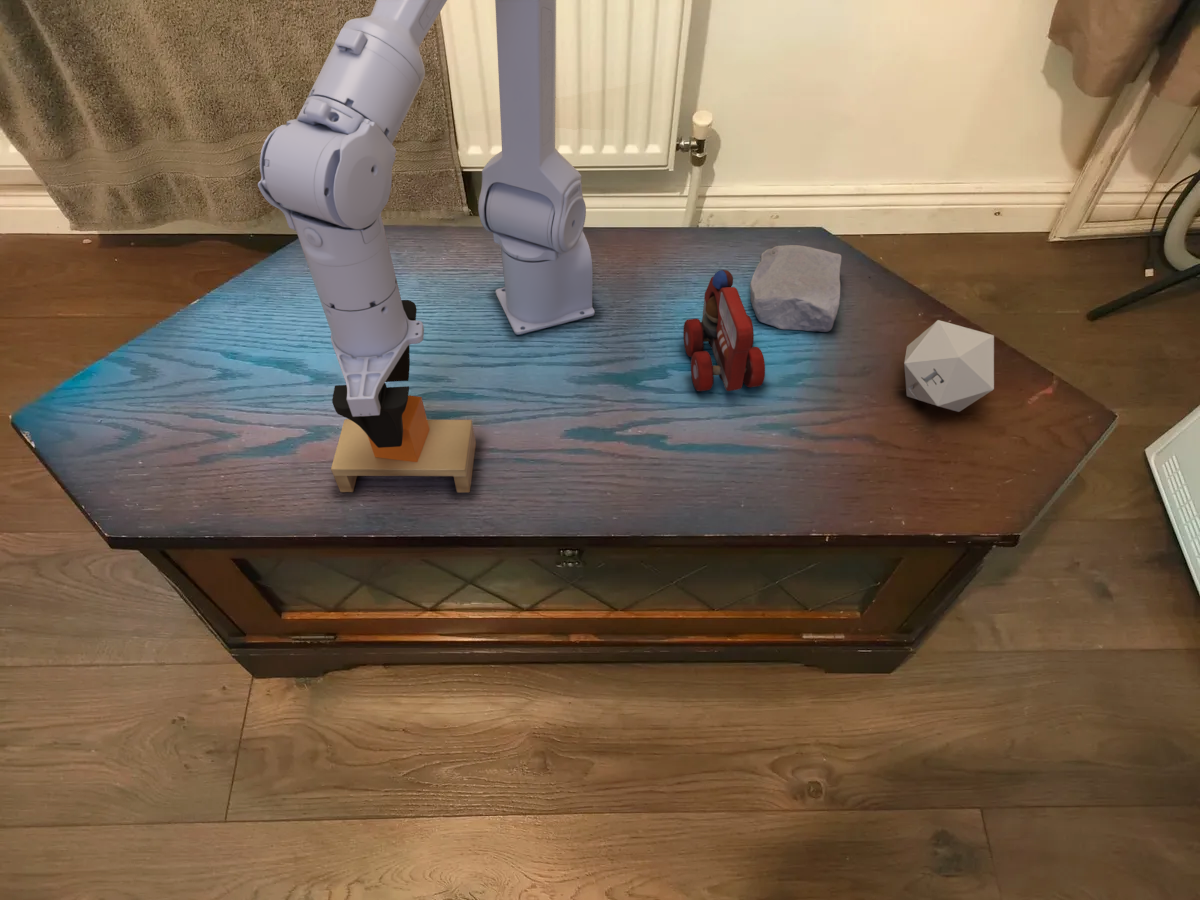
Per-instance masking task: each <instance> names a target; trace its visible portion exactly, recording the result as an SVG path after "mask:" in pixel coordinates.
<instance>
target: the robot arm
mask: <svg viewBox="0 0 1200 900" xmlns="http://www.w3.org/2000/svg"><path fill="white" fill-rule="evenodd" d="M447 1H448V0H375V3H374V5H373V7H372V11H371V13H370V15H368V16H363V17H357V18H352V19H349V20H347V21H346V22H344V24H343V26H342V28H341V29H340V31H339V33H338V35H337V37H336V39H335V41H334V44H333V46H332V48H331V50H330V51H329V53H328V56H327V57H326V60H325V61H324V63H323V65H322V68H321V69H320V72H319V73H318V75H317V78H316V79H315V81H314V83H313V85H312V88H311V90H310V91H309V93H308V95H307V97H306V98H305V101H304V103H303V105H302V108H301V110H300V111H299V113H298V115H297V117H296V118H294V119H290V120H287V121H286V122H285V123H286V124H281V125H279V126H277V127H276V128H274V129H273V130H272V131H271V132H270V133H269V134H268V135H267V136H266V139H265V140H264V142H263V145H262V147H261V151H260V155H259V171H260V176H261V178H260V180H259V181H258V182H257V187H258V190H259V192H260V193H261V195H262V197H263V198H264V199H265V201H267V203H268V204H269V205H271V206H273V207H274V208H277V209H278V210H280V211H281V212H282V214H283V215H284V218H285V220H286V223H287V225H288V229H291V230H293V231H295V232H296V235H297V237H298V240H299V243H300V247H301V249H302V252H303V256H304V259H305V261H306V264H307V267H308V269H309V270H308V271H309V272H310V275H311V278H312V281H313V284H314V287H315V290H316V293H317V296H318V299H319V302H320V304H321V307H322V311H323V314H324V316H325V320H326V322H327V325H328V328H329V331H330V341H331V345H332V348H333V351H334V354H335V357H336V359H337V363H338V365H339V367H340V370H341V373H342V376H343V378H344V382H345V384H338V385H334V388H333V393H332V399H331V403H332V405H333V408H334V410H335V413H336V414H337V415H339V416H341V417H343V418H345V419H349V420H351V421H353V422H354V423H356V424H357V425H358V426H360V427H361V428H362V430H363V431H364V432H365V433H366V434H367V435H368V436H369V438H370V439H371V440H372V441H373V443H374V444H375V445H376V446H377V447H378V448H383V447H400V446H401V445H402V439H403V422H402V414H403V412H404V411H405V408H406V405H407V401H408V395H409V391H410V386H408V385H407V386H406V385H405V386H389V387H387V383H392V382H408V381H409V377H410V371H411V368H410V367H411V366H410V365H411V359H410V358H411V356H410V353H411V352H410V345H418V344H420V343H422V342H423V340H424V337H425V336H424V333H425V328H424V323H423V321H421V320H417V312H418V309H417V305H416V304H415V302H414V301H412V300H408V299H402V295H401V294H400V288H399V283H398V280H397V279H398V278H397V275H396V272H395V267H394V262H393V259H392V258H393V257H392V255H391V251H390V246H389V243H388V238H387V233H386V229H385V225H384V221H383V218H382V212H383V210H384V209H385V207H386V206H387V204H388V203H389V199H390V195H391V190H392V183H393V166H394V164H395V161H396V159H397V157H396V154H397V149H396V148H395V146H394V145H393V144H394V142H395V139H396V138H397V135H398V134H399V131H400V129H401V127H402V125H403V123H404V121H405V119H406V117H407V116H408V112H409V111H410V109H411V107H412V104H413V102H414V100H415V98H416V96H417V94H418V93H419V90H420V88H421V86H422V83H423V82H424V79H425V77H426V69H425V64H424V62H423V58H422V55H421V51H420V46H421V45H422V43H423V42H424V39H425V38H426V36H427V35H428V33H429V31H430V30H431V28H432V27H433V25H434V23H435V22H436V20H437V18H438V17H439V15H440V13H441V11H442V10H443V8H444V6H446V5H445V4H447ZM494 3H495V26H496V27H495V29H496V47H497V48H496V49H497V70H498V91H499V114H500V137H501V139H500V140H501V151H500V152H497V153H496V154H495V155H494V156H492V157H491V158H490V159H489V160H488V161H487V162H486V164H485V165H484V167H483V168H482V170H481V189H480V193H479V197H478V204H477V205H478V206H477V208H478V209H477V210H478V217H479V220H480V224H481V225H482V228H483V229H484V230H485V231H487V232H490V233H492V236H493V243H495V244H498V245H499V246H500V255H501V264H502V274H503V282H504V287H500V288H496V289H495V296H496V298H497V299H498V302H499V304H500V306H501V309H502V310H503V312H504V314H505V316H506V318H507V320H508V323H509V324H510V326H511V329H512V331H513V332H514V334H515V335H523V334H527V333H532V332H535V331H540V330H543V329H546V328H552V327H555V326H558V325H562V324H566V323H570V322H571V323H572V322H575V321H579V320H582V319H586V318H590V317H594V316H595V314H596V313H595V308H594V307H593V269H594V268H593V267H594V266H593V259H592V253H591V247H590V245H589V241H588V239H587V237H586V235H585V233H584V231H583V230H584V227H585V222H586V217H587V207H586V202H585V200H584V194H583V183H582V174H581V173H580V172H579V170H577V168H575V167H574V166H573V165H572V164H571V162H570V161H568V160H567V159H566V158H565V157H564V156H563V154H561V153H560V151H558V149H557V148H556V122H557V121H556V114H557V113H556V111H557V109H556V107H557V105H556V103H557V99H556V98H557V93H556V92H557V89H556V88H557V0H494Z"/></svg>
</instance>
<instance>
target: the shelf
mask: <svg viewBox="0 0 1200 900" xmlns="http://www.w3.org/2000/svg"><path fill="white" fill-rule="evenodd" d="M427 421H428V425H429V432H428V435H427V438H426V440H425V443H424V446H423V448H422V451H421V454H420V456H419V459H418V462H410V461H402V460H394V459H385V458H377V457H375V456H374V453H373V450H372V447H371V444H370V441H369V438H368V435H367V434H366V433H365V432H364V431H363V430H362V428H361V427H360V426H358V425H357V424H356V423H354V422H353V421H351V420H349V419H348V418H345V419H344V420H343V424H342V427H341V431H340V434H339V438H338V442H337V446H336V448H335V453H334V457H333V460H332V463H331V467H330V470H331V473H332V475H333V477H334V480H335V482H336V485H337V487H338V490H339V492H340V493H354V490H355V486H356V482H357V478H358V477H365V476H366V477H453V480H454V485H455V490H456V493H470V492H471V486H472V478H473V470H474V462H475V454H476V446H477V443H476V442H477V441H476V436H475V435H476V434H475V430H474V423H473V420H472V419H427Z"/></svg>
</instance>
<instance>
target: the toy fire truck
mask: <svg viewBox="0 0 1200 900" xmlns="http://www.w3.org/2000/svg"><path fill="white" fill-rule="evenodd" d="M733 285H734V276H733V274H732V273H731V272H730V271H729V270H727V269H720V270H717V271H716V272H715V273H714V275H713V276H711V277H710V280H709V283H708V285H707V287H706V290H705V291H704V298H703V309H702V318H701V320H700V319H699V318H689V319H685V321H684V324H683V344H684V350H685V353H686V355H687V356H688V357H689V358H691V359H690V372H691V373H690V374H691V381H692V384H693V387H694V389H695V390H696V392H704V391H710V390H711V389H712V387H713V386H714V376H719V379H720V381H722V383H723V387H724V389H725V390H726V392H732V391H739V390H741V389H742V387H743V384H744V386H746V387H747V388H756V387H761V386H762V385H763V383H764V381H765V377H766V362H765V357H764V354H763V351H762V350H761V348H760V347H758V346H753V345H754V338H755V337H754V334H755V333H754V325H753V321H752V318H751V316H749V315H748V314H747V312H746V309H745V305H744V304H743V300H742V299H741V296H740V293H739V291H738V289H737V287H735V286H733ZM707 342H708V345H709V347H710V348H711V350H712V354H713V357H714V359H715V362H716V365H713V360H712V357H711V355H710V352H708V351H707V350H705V349H704V348H705V345H704V344H705V343H707Z"/></svg>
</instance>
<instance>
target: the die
mask: <svg viewBox="0 0 1200 900" xmlns="http://www.w3.org/2000/svg"><path fill="white" fill-rule="evenodd" d="M904 356H905V357H904V361H903V364H904V378H905V389H906V391H905V393H906V397H908V398H911V399H914V400H918V401H921V402H923V403H927V404H931V405H933V406H936V407H940V408H943V409H947V410H950V411H954V412H957V413H959V412H961V411H963V410H964V409H966V408H968V407H969V406H971V405H972V404H974V403H975V402H977V401H979V400H980V399H981V398H983V397H984V396H986V395H987V394H989V393H991V392H993V390H995V335H994V334H990V333H987V332H984V331H979V330H977V329H973V328H968V327H964V326H961V325H958V324H954V323H952V322H951V323H950V322H948V321H943V320H940V319H937V320H936V321H935V322H934V323H933V324H931V325H930V326H929V327H928V328H926V330H924V331H923V332H922V333H921V334H920V335H918V336H917V337H916V338H914V340H912V341H911V342H909V344H908V345H906V351H905V355H904Z"/></svg>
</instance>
